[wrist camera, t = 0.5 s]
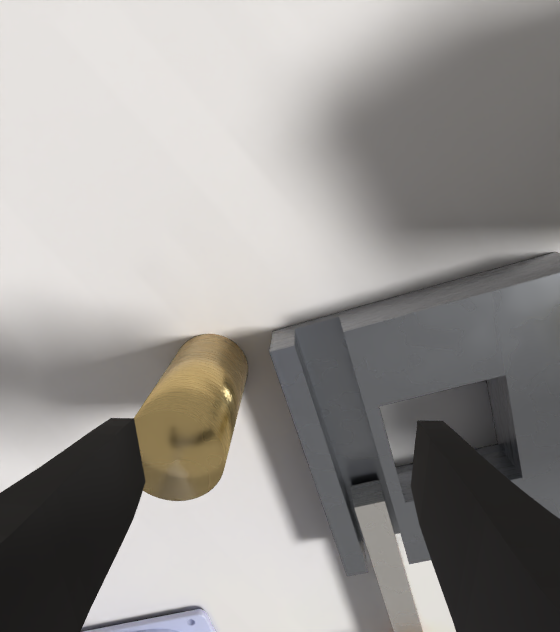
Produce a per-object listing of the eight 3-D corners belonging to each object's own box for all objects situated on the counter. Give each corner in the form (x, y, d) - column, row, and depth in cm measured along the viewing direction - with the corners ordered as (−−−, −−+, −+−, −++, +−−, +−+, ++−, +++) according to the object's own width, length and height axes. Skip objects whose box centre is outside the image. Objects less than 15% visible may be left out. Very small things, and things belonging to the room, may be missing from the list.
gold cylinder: (191, 407, 22) (144, 510, 15) (164, 345, 21) (101, 426, 14) (257, 389, 21) (239, 488, 15) (233, 325, 20) (202, 399, 14)
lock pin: (404, 664, 26) (420, 738, 22) (347, 486, 22) (357, 544, 18) (433, 659, 26) (454, 733, 22) (381, 479, 22) (397, 536, 18)
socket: (342, 536, 24) (347, 576, 22) (272, 331, 20) (269, 352, 18) (582, 486, 22) (615, 523, 20) (556, 251, 18) (594, 263, 16)
